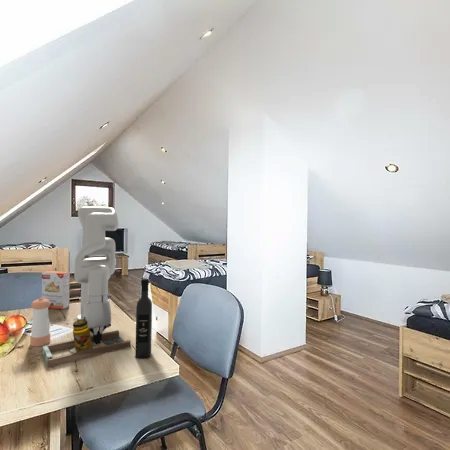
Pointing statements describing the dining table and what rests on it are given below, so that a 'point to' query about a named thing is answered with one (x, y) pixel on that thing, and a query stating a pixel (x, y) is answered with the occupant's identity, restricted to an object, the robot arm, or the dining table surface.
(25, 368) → the dining table surface
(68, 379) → the dining table surface
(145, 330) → the wine bottle
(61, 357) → the trap lane
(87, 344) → the condiment
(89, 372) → the dining table surface
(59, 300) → the cracker box
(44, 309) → the pepper shaker
